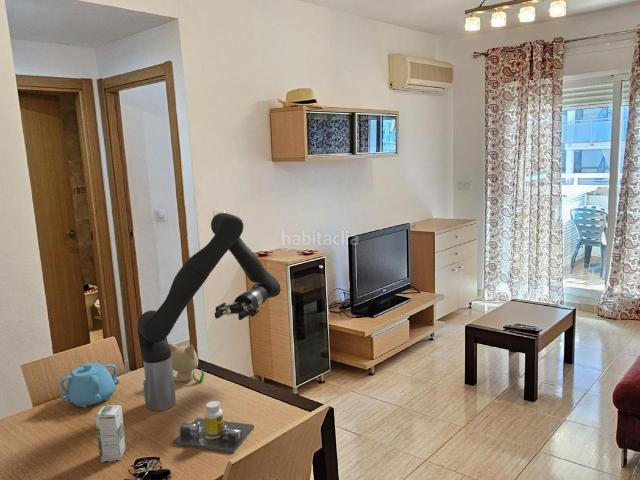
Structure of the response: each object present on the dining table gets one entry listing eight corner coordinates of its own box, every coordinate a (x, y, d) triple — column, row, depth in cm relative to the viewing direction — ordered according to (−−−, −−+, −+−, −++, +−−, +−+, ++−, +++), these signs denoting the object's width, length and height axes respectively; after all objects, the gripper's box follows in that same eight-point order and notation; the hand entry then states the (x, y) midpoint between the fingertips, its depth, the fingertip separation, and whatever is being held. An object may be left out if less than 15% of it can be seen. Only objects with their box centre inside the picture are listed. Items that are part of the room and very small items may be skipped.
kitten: (210, 376, 199) (207, 339, 196) (197, 387, 189) (193, 349, 187) (177, 372, 203) (173, 337, 201) (162, 384, 194) (158, 346, 191)
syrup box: (106, 451, 151) (100, 405, 149) (127, 449, 152) (121, 404, 149) (100, 462, 146) (93, 415, 143) (121, 460, 146) (115, 413, 143)
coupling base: (173, 444, 153) (171, 430, 152) (197, 420, 166) (196, 407, 165) (233, 453, 147) (232, 438, 146) (254, 427, 160) (253, 414, 159)
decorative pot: (97, 412, 175) (92, 375, 172) (57, 409, 178) (51, 372, 176) (125, 390, 190) (121, 356, 188) (87, 387, 194) (83, 353, 192)
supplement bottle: (220, 439, 152) (217, 409, 150) (203, 438, 153) (200, 408, 151) (227, 429, 157) (224, 400, 155) (210, 428, 158) (207, 399, 157)
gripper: (230, 291, 185) (207, 304, 170) (266, 292, 181) (246, 306, 166) (231, 311, 186) (209, 326, 171) (267, 312, 182) (248, 328, 167)
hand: (227, 316), depth 168 cm, fingers open, 8 cm apart
